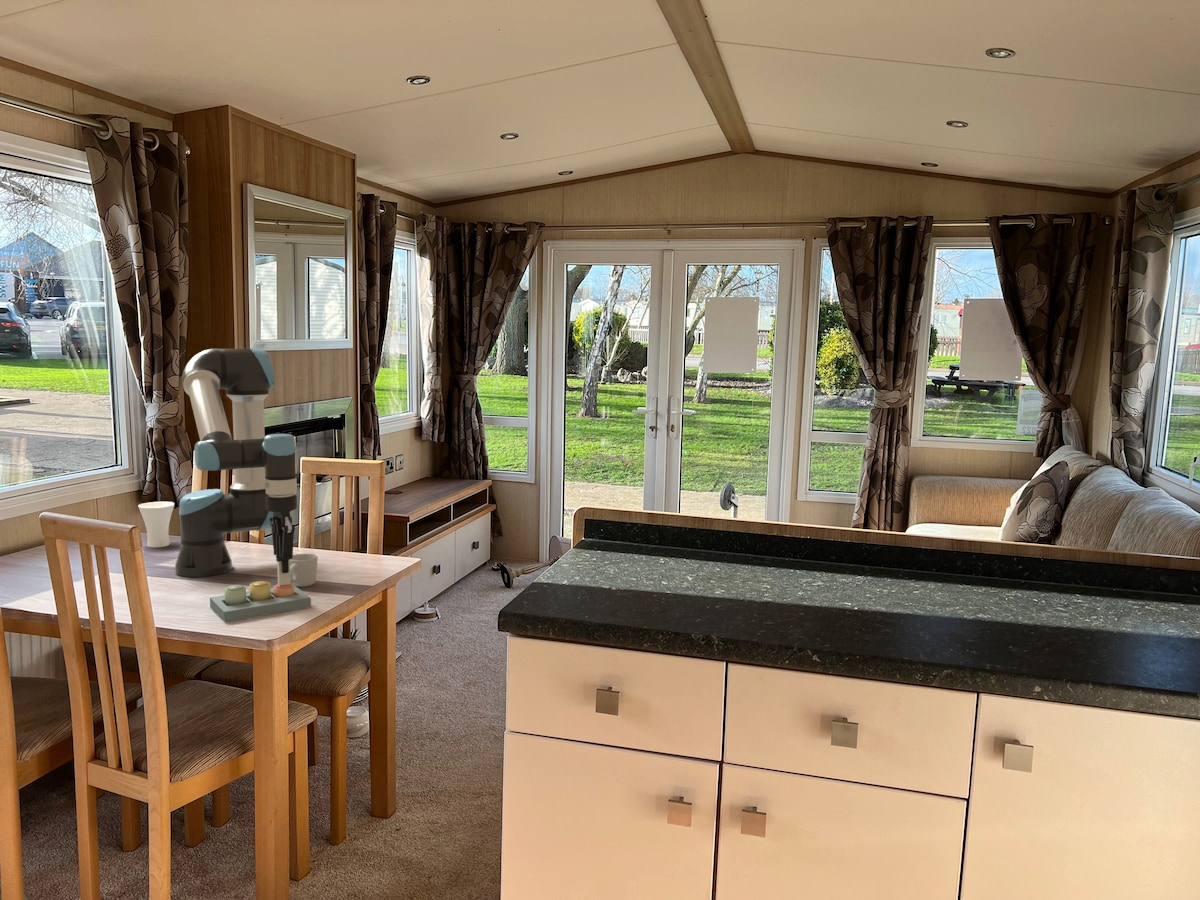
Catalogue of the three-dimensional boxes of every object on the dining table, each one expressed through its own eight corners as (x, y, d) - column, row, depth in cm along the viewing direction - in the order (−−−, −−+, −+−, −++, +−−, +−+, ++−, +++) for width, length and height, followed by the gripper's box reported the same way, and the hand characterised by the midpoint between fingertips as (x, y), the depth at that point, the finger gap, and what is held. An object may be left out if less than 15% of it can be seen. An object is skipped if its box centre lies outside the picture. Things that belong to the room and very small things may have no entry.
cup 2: (303, 592, 236) (302, 564, 235) (276, 590, 238) (275, 562, 237) (323, 581, 247) (322, 554, 246) (298, 579, 248) (297, 552, 247)
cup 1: (132, 548, 280) (130, 506, 278) (154, 540, 290) (152, 500, 288) (162, 550, 278) (160, 508, 276) (183, 542, 288) (181, 502, 286)
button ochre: (247, 598, 224) (246, 582, 223) (267, 594, 227) (267, 579, 226) (253, 603, 220) (252, 587, 219) (273, 599, 223) (272, 584, 222)
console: (210, 607, 223) (209, 597, 222) (293, 593, 235) (292, 584, 235) (224, 622, 212) (224, 611, 211) (310, 607, 224) (310, 597, 224)
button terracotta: (271, 599, 227) (271, 584, 227) (290, 596, 230) (290, 581, 230) (277, 604, 223) (277, 588, 223) (297, 601, 226) (296, 585, 226)
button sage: (222, 602, 220) (222, 586, 219) (243, 598, 223) (242, 583, 222) (228, 607, 216) (227, 591, 216) (248, 603, 219) (248, 587, 219)
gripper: (258, 492, 226) (261, 580, 229) (274, 500, 216) (277, 592, 219) (287, 489, 231) (290, 576, 234) (304, 497, 220) (306, 587, 223)
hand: (283, 584), depth 226 cm, fingers closed
